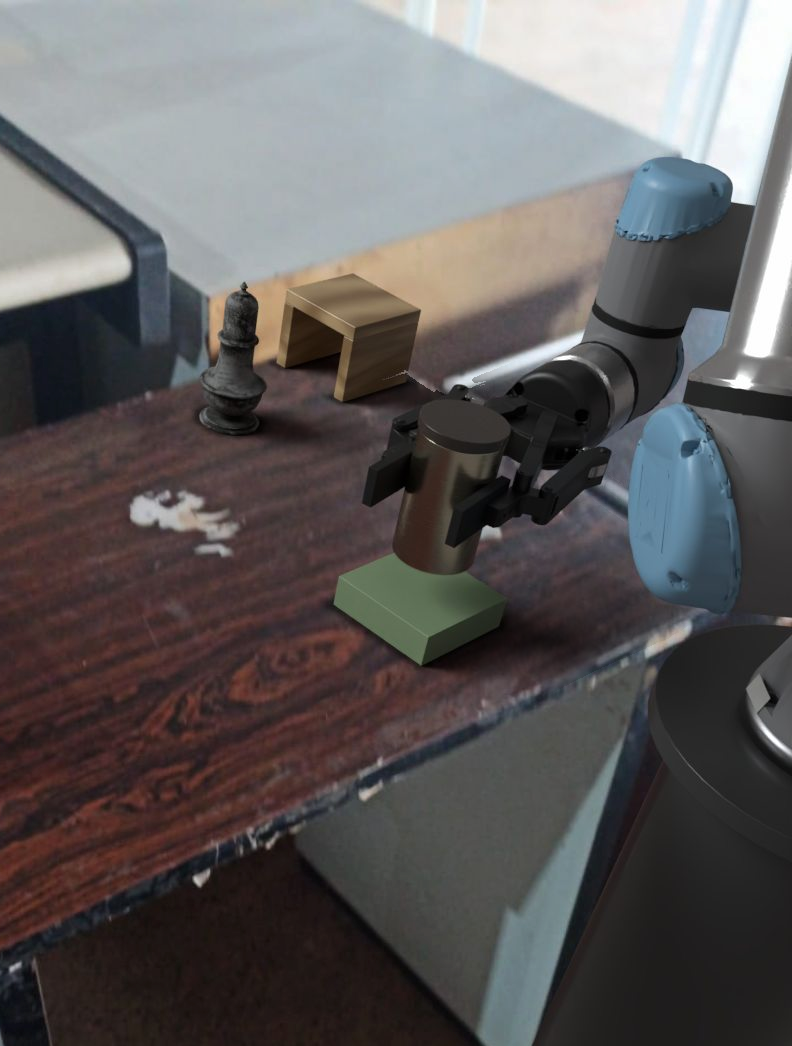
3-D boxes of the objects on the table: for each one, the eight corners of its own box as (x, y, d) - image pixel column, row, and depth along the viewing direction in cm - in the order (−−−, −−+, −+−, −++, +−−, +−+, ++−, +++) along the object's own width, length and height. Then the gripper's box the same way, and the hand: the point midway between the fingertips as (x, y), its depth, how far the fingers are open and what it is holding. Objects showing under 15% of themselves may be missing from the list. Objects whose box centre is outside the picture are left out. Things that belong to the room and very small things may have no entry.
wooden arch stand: (406, 382, 124) (421, 309, 119) (342, 402, 119) (355, 327, 114) (340, 344, 128) (353, 272, 123) (276, 363, 123) (286, 288, 118)
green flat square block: (499, 626, 97) (507, 598, 95) (421, 666, 92) (428, 637, 90) (412, 569, 101) (419, 541, 99) (333, 604, 96) (338, 575, 94)
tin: (492, 560, 93) (529, 429, 86) (436, 585, 89) (471, 451, 82) (429, 521, 95) (460, 391, 88) (373, 544, 92) (401, 411, 85)
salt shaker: (193, 430, 111) (206, 290, 103) (198, 400, 115) (211, 262, 107) (260, 440, 112) (278, 301, 103) (263, 410, 116) (281, 273, 107)
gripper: (659, 500, 99) (519, 616, 85) (452, 409, 105) (289, 501, 91) (694, 407, 94) (551, 513, 79) (474, 317, 100) (304, 399, 86)
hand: (411, 507), depth 85 cm, fingers closed on tin, 6 cm apart
